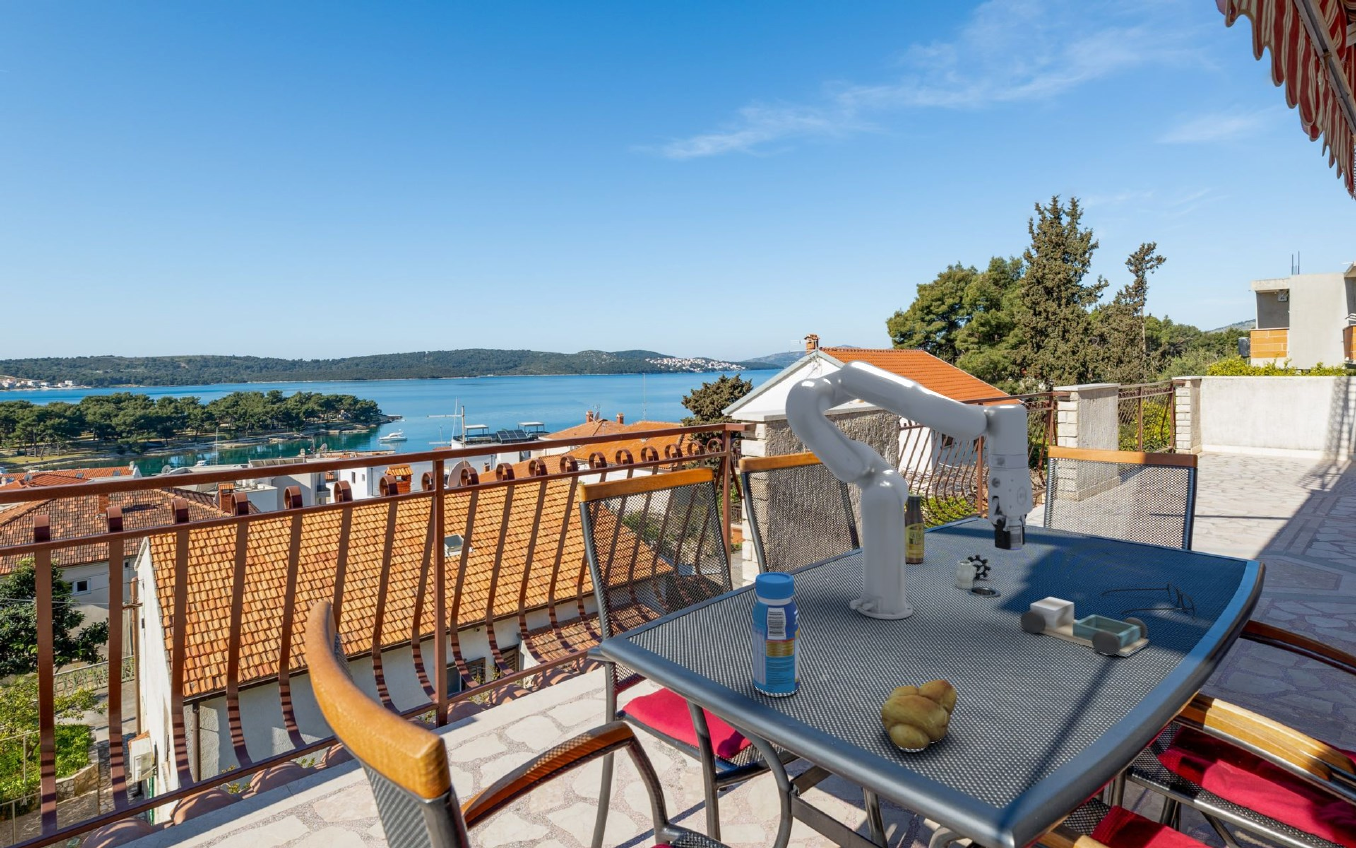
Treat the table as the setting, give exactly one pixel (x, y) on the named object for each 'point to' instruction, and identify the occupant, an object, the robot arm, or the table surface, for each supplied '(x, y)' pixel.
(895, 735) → the bread roll
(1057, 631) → the toy car chassis
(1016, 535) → the pill bottle
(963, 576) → the valve
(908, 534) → the sauce bottle
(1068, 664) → the table surface
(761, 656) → the beverage bottle
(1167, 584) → the glasses
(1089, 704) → the table surface
